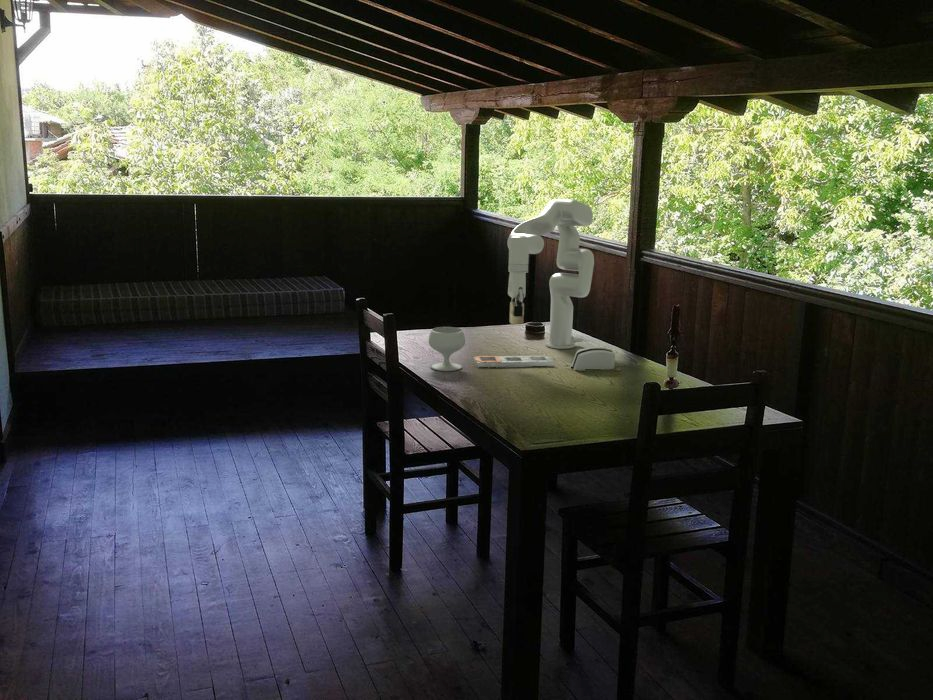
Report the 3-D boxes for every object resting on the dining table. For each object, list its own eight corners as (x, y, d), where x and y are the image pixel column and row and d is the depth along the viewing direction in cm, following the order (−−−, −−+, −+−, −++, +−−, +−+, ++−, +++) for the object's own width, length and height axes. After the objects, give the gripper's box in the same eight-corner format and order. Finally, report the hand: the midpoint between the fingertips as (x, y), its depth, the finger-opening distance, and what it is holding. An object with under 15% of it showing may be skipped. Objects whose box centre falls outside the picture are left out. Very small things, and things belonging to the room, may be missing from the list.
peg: (520, 322, 344) (521, 301, 342) (523, 324, 339) (524, 303, 338) (509, 322, 343) (510, 301, 341) (512, 324, 339) (512, 303, 337)
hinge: (609, 365, 345) (614, 344, 340) (613, 372, 341) (618, 350, 336) (569, 367, 341) (573, 345, 336) (573, 374, 337) (577, 352, 332)
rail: (547, 360, 352) (547, 354, 352) (553, 366, 342) (553, 360, 342) (473, 361, 347) (473, 356, 347) (477, 367, 338) (477, 362, 337)
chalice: (457, 362, 346) (458, 325, 342) (469, 371, 333) (470, 332, 329) (423, 365, 341) (424, 327, 338) (434, 373, 328) (435, 334, 325)
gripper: (503, 265, 344) (502, 311, 348) (513, 271, 328) (512, 319, 332) (522, 265, 345) (520, 311, 349) (533, 271, 329) (531, 319, 333)
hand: (516, 314), depth 340 cm, fingers closed on peg, 4 cm apart
